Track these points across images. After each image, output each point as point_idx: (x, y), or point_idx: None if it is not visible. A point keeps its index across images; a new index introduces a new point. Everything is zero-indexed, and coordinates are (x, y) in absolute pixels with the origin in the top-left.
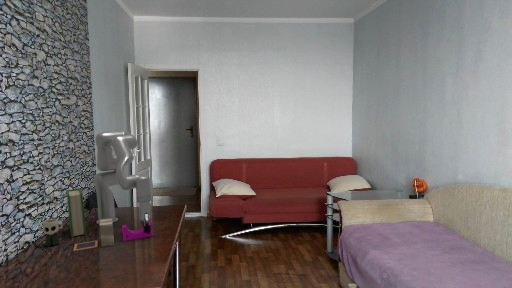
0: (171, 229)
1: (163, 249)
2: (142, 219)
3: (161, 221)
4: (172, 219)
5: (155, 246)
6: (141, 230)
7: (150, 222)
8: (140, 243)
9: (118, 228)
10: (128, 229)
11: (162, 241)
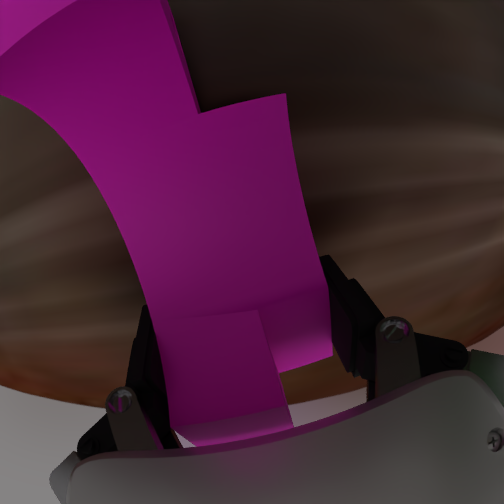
0: (315, 386)
1: (2, 374)
2: (74, 487)
3: (480, 290)
4: (466, 331)
5: (13, 349)
6: (196, 273)
7: (210, 443)
8: (26, 257)
9: (491, 28)
10: (142, 63)
11: (84, 379)
